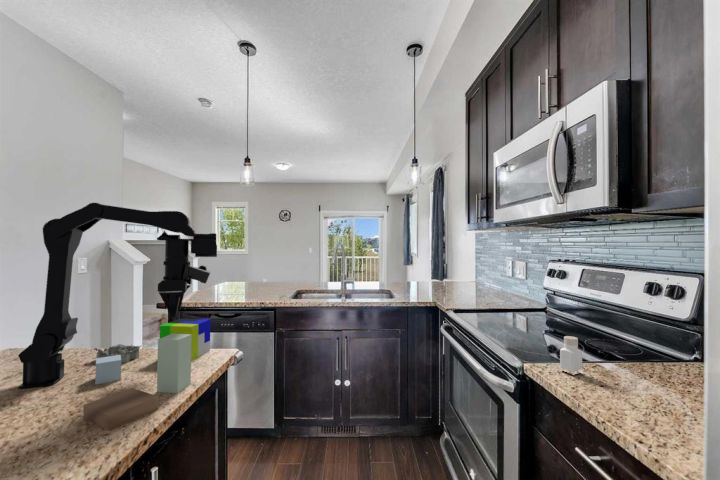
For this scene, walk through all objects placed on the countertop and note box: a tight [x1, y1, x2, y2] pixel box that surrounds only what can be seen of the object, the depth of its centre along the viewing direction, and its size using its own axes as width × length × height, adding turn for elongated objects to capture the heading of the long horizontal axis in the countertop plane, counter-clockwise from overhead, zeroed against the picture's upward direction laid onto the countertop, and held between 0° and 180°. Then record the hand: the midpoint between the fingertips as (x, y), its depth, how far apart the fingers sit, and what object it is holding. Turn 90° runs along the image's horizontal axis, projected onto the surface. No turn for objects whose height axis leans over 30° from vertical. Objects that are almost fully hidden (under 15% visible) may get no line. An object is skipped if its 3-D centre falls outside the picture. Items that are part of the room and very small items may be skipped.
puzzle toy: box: [159, 318, 212, 362], centre depth 103 cm, size 10×10×10 cm
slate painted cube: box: [94, 355, 122, 385], centre depth 84 cm, size 5×5×5 cm
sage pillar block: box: [156, 334, 192, 394], centre depth 79 cm, size 5×5×12 cm
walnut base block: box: [82, 387, 160, 431], centre depth 67 cm, size 9×9×3 cm
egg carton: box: [93, 343, 143, 364], centre depth 99 cm, size 11×8×4 cm
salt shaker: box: [559, 335, 583, 372], centre depth 91 cm, size 4×4×10 cm
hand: (175, 313), depth 93 cm, fingers open, 9 cm apart
